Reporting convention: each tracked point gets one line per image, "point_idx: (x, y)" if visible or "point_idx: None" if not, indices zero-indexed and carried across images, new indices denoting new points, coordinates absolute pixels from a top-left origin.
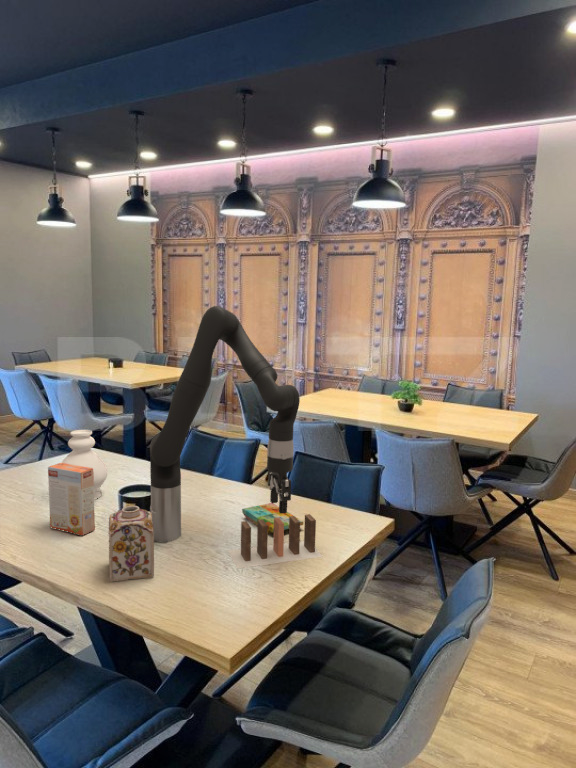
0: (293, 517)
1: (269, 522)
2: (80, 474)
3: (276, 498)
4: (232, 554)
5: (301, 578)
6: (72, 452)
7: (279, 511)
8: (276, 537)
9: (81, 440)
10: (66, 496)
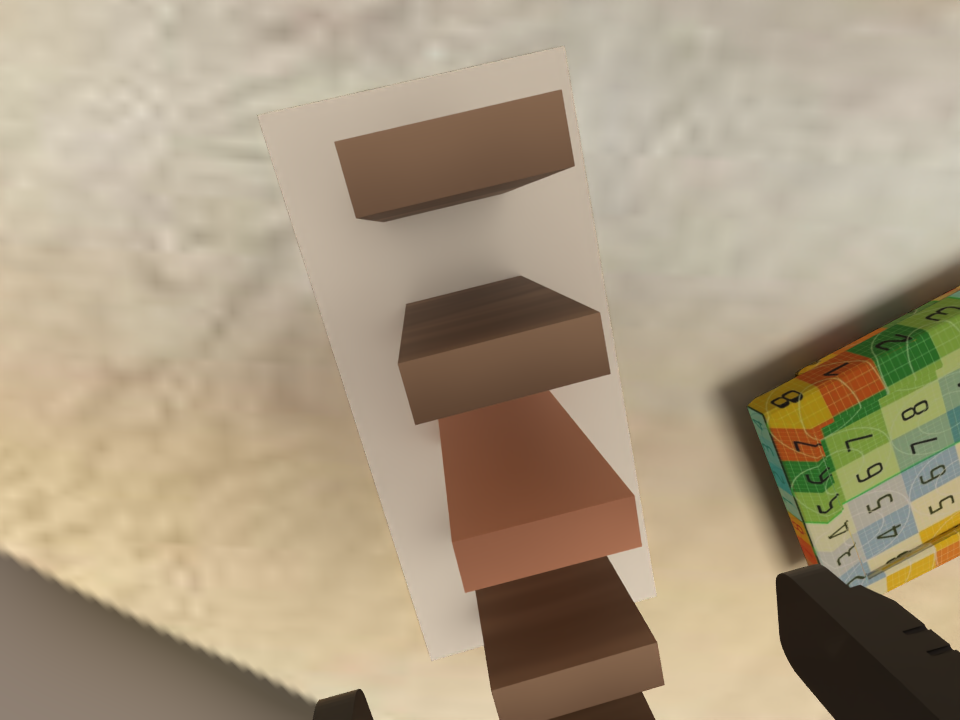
0: (624, 677)
1: (866, 394)
2: None
3: (833, 695)
4: (491, 85)
5: (160, 530)
6: None
7: (323, 712)
8: (498, 448)
9: None
10: None
